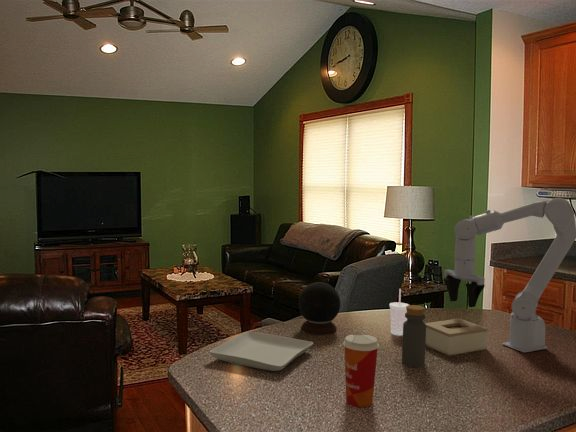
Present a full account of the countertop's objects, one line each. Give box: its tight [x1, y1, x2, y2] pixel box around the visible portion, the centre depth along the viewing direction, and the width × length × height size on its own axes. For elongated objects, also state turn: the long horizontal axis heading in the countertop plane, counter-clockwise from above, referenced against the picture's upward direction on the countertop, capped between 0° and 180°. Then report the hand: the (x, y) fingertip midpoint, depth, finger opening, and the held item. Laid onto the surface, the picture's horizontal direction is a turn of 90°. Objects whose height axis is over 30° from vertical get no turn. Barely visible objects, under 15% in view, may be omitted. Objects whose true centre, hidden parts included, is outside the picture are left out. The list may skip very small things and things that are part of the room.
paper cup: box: [342, 333, 380, 408], centre depth 115 cm, size 8×8×14 cm
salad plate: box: [208, 331, 314, 372], centre depth 142 cm, size 21×21×3 cm
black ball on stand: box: [298, 281, 341, 336], centre depth 168 cm, size 13×13×15 cm
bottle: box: [401, 304, 427, 368], centre depth 139 cm, size 6×6×15 cm
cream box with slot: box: [424, 318, 488, 356], centre depth 154 cm, size 14×11×6 cm
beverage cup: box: [389, 288, 410, 336], centre depth 165 cm, size 6×6×14 cm
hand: (462, 303), depth 162 cm, fingers open, 7 cm apart
